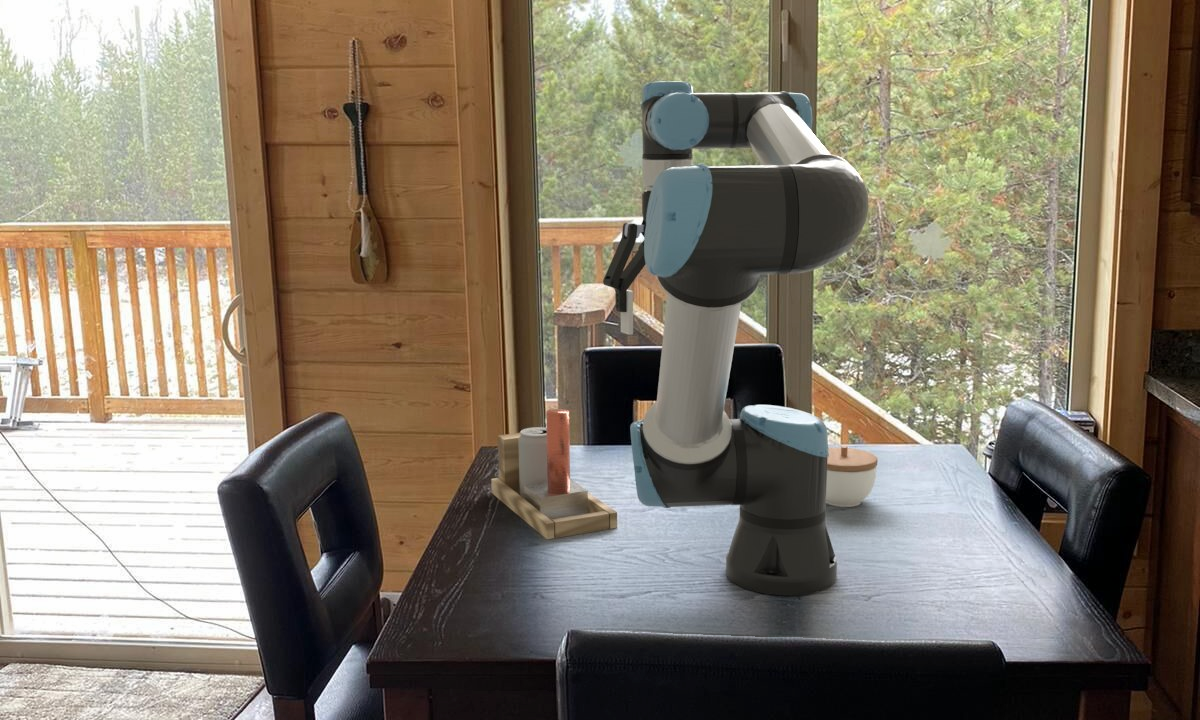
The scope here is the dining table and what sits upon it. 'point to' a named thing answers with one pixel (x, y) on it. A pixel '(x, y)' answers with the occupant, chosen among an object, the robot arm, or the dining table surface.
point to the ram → (558, 474)
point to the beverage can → (532, 457)
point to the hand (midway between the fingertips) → (666, 329)
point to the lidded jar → (849, 476)
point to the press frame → (510, 496)
